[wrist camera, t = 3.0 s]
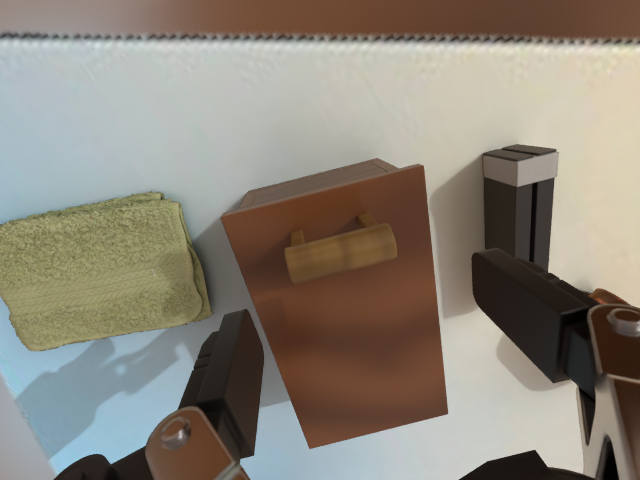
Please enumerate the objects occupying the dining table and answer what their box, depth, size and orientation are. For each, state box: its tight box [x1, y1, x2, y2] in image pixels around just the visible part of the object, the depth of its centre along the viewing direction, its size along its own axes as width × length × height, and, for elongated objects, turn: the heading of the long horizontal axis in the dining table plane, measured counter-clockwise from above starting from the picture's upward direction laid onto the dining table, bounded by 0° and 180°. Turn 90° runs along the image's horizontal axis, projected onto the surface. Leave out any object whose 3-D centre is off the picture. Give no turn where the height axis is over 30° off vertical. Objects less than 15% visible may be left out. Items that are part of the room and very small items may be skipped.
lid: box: [221, 164, 448, 449], centre depth 19 cm, size 21×12×5 cm, turn 13°
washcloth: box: [0, 191, 213, 351], centre depth 27 cm, size 13×18×3 cm
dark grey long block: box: [483, 144, 559, 271], centre depth 28 cm, size 15×3×5 cm, turn 13°
